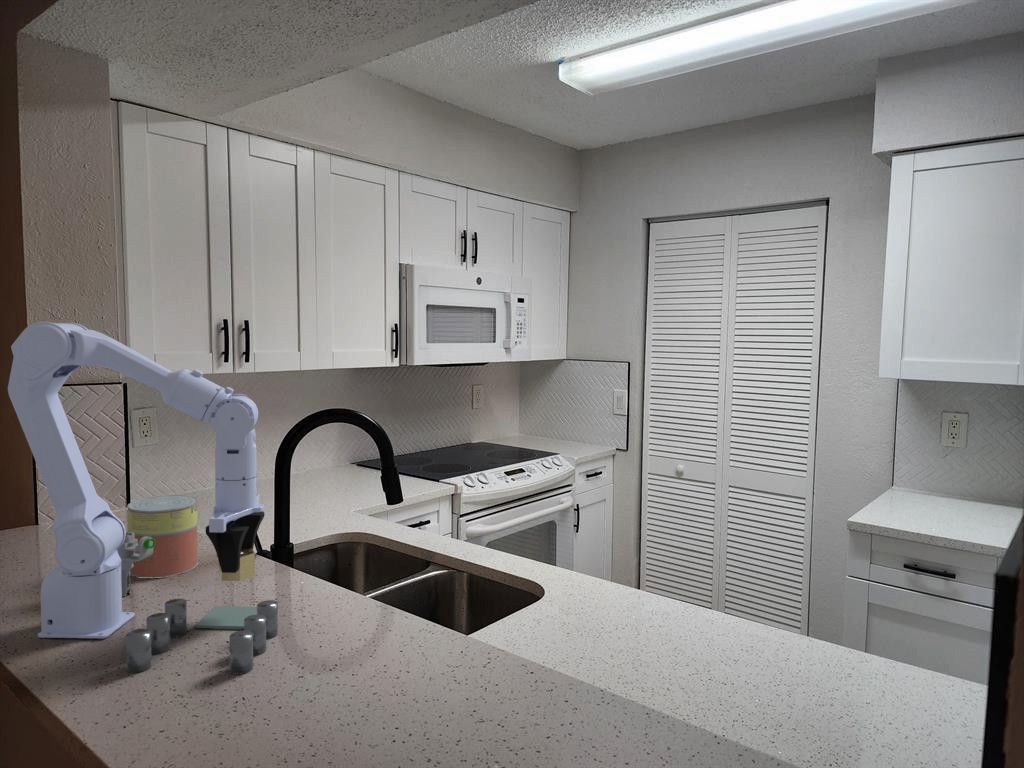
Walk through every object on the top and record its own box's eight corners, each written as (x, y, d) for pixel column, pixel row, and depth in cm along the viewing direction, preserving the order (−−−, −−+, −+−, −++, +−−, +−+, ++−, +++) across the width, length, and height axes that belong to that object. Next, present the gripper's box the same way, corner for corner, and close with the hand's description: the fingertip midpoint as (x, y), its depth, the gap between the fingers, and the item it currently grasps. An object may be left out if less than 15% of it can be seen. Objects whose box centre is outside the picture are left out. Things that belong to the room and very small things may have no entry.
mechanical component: (145, 601, 107) (144, 540, 107) (90, 595, 109) (89, 534, 109) (158, 594, 110) (158, 534, 110) (104, 588, 112) (103, 529, 112)
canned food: (210, 565, 125) (210, 501, 124) (150, 583, 115) (149, 514, 114) (175, 553, 131) (174, 492, 130) (115, 569, 121) (114, 503, 120)
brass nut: (212, 580, 100) (212, 556, 99) (225, 570, 104) (225, 547, 104) (249, 581, 100) (249, 557, 100) (259, 570, 104) (260, 547, 104)
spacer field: (122, 672, 85) (121, 638, 85) (170, 628, 98) (170, 598, 98) (248, 674, 86) (248, 640, 86) (280, 630, 99) (280, 600, 98)
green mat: (194, 628, 98) (194, 625, 98) (214, 609, 105) (214, 606, 105) (257, 629, 99) (257, 626, 99) (272, 610, 106) (272, 607, 106)
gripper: (245, 488, 94) (245, 584, 95) (278, 467, 108) (278, 550, 109) (193, 487, 94) (194, 583, 95) (234, 466, 108) (234, 550, 109)
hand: (236, 565), depth 102 cm, fingers closed on brass nut, 5 cm apart
